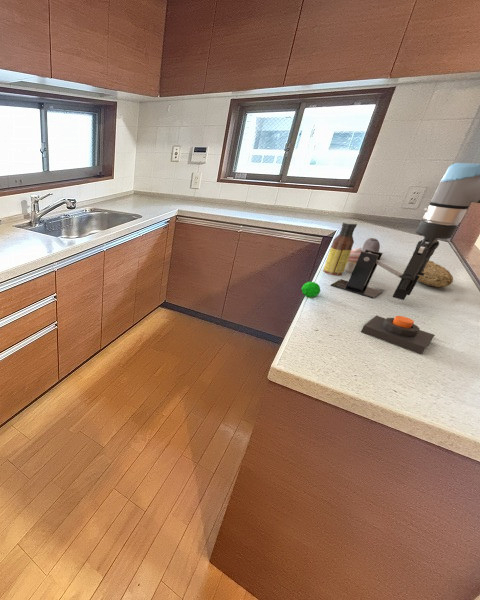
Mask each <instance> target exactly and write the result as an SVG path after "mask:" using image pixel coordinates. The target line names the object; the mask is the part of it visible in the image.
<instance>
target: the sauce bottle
mask: <svg viewBox="0 0 480 600" xmlns="http://www.w3.org/2000/svg"><path fill="white" fill-rule="evenodd" d="M357 225H358V224H357V222H353V221H342V224H341V228H340V232H339V234H338V235H337V236H336V237H335V238H334V239H333V240H332V243H331V246H330V249H329V251H328V254H327V257H326V259H325V263H324V267H323V270H322V271H323V273H324V274H328V275H331V276H335V277H338V276H339V277H340V276H342V275H343V273H345V272H344V269H345V266H346V264H347V261H348V258H349V256H350V253H351V250H353V247H354V243H355V241H354V236H353V235H354V232H355V230H356V228H357Z"/></svg>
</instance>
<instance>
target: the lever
mask: <svg viewBox="0 0 480 600" xmlns="http://www.w3.org/2000/svg"><path fill="white" fill-rule="evenodd" d="M368 253H371V252H368ZM372 254H373V253H372ZM375 264H377V266H379V267H381V268H382V269H383V270H385V271H387V272H389V273H391V274H392V275H394V276H396V277H398V278H399V279H400V280H401V279H402V278H400V277H399V276H400V275H401V276H402V274H403V273H402V272H399V271H398V270H396V269H395V268H392V267H391V266H389V265H387V264H386V263H384V262H382V261H381V260H376V263H375ZM414 280H415V279H414Z"/></svg>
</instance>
